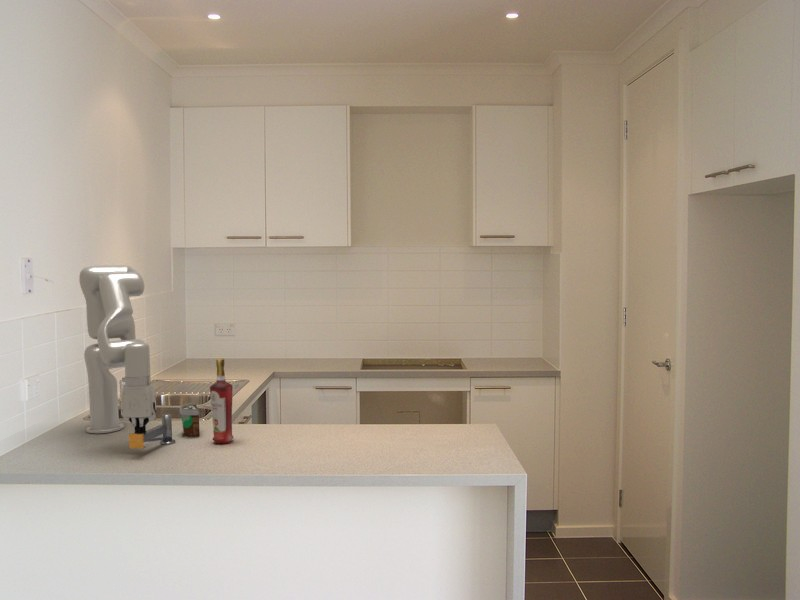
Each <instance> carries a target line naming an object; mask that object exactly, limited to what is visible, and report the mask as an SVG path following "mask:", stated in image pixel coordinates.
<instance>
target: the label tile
mask: <svg viewBox="0 0 800 600" xmlns="http://www.w3.org/2000/svg"><path fill="white" fill-rule="evenodd" d="M162 440H163V434H161V435H159V436H157V437H155V438H153V439H151V440H149V441H147V442H154V441H155V442H156V441H162ZM147 442H146V443H147Z"/></svg>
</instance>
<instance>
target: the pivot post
mask: <svg viewBox="0 0 800 600" xmlns="http://www.w3.org/2000/svg"><path fill="white" fill-rule="evenodd" d="M172 423H173V422H172V414H171V413H165V414H161V425H166V433H164V434H162V436H163V440H159V444H160V445H162V446H169V445H174V444H175V443H176V439H173V428H172ZM173 443H174V444H173Z"/></svg>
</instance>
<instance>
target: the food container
mask: <svg viewBox="0 0 800 600" xmlns="http://www.w3.org/2000/svg"><path fill="white" fill-rule="evenodd" d="M179 415H181V422H182V423H181V424H182V429H183V430H182V432H183V436H184V437H186V438H199V437H200V435H201V434H200V409H199V408H198V406H197V402H190V403H185V404H182V405H181V406H180V408H179Z"/></svg>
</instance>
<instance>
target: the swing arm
mask: <svg viewBox="0 0 800 600" xmlns="http://www.w3.org/2000/svg"><path fill="white" fill-rule="evenodd" d="M164 433H166V425H162V424H159V425H156V426H155V427H152V428H150V429H148V430H147V429H146V431H145V432H143V433H141V434H136V433H135V432H134V433H132V432H131V433H128V445H129V447H128V448H129V449H138V450H139V449H141V450H142V449H144V448H145V443H147V441H148V442H150V441H149V440H151V439H153V438H155V437H157V436H159V435H161V434H162V435H163V434H164Z"/></svg>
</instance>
